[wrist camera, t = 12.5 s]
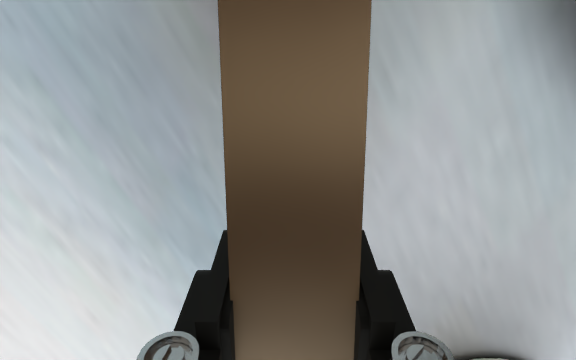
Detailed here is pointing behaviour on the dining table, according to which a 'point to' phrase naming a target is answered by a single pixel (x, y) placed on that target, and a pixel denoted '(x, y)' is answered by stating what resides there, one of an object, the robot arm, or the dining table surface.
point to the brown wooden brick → (294, 172)
